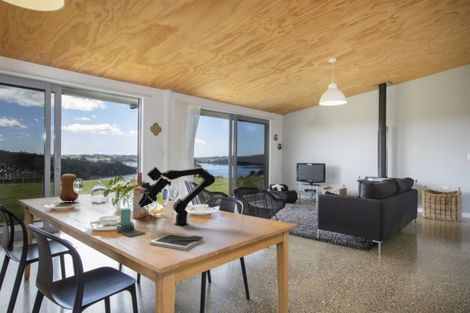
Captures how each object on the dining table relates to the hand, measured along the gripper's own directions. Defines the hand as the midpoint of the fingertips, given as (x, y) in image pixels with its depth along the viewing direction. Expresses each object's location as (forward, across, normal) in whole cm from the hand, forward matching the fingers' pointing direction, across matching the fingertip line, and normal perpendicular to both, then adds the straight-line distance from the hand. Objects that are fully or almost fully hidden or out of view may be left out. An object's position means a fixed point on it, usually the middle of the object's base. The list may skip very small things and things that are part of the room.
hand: (139, 205), depth 164 cm
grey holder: (+15, 0, +4) cm, 15 cm away
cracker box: (+6, -32, +13) cm, 35 cm away
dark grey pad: (+12, +11, +6) cm, 18 cm away
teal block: (+15, 0, +4) cm, 15 cm away
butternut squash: (+43, -110, -24) cm, 121 cm away
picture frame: (0, +35, +20) cm, 40 cm away
